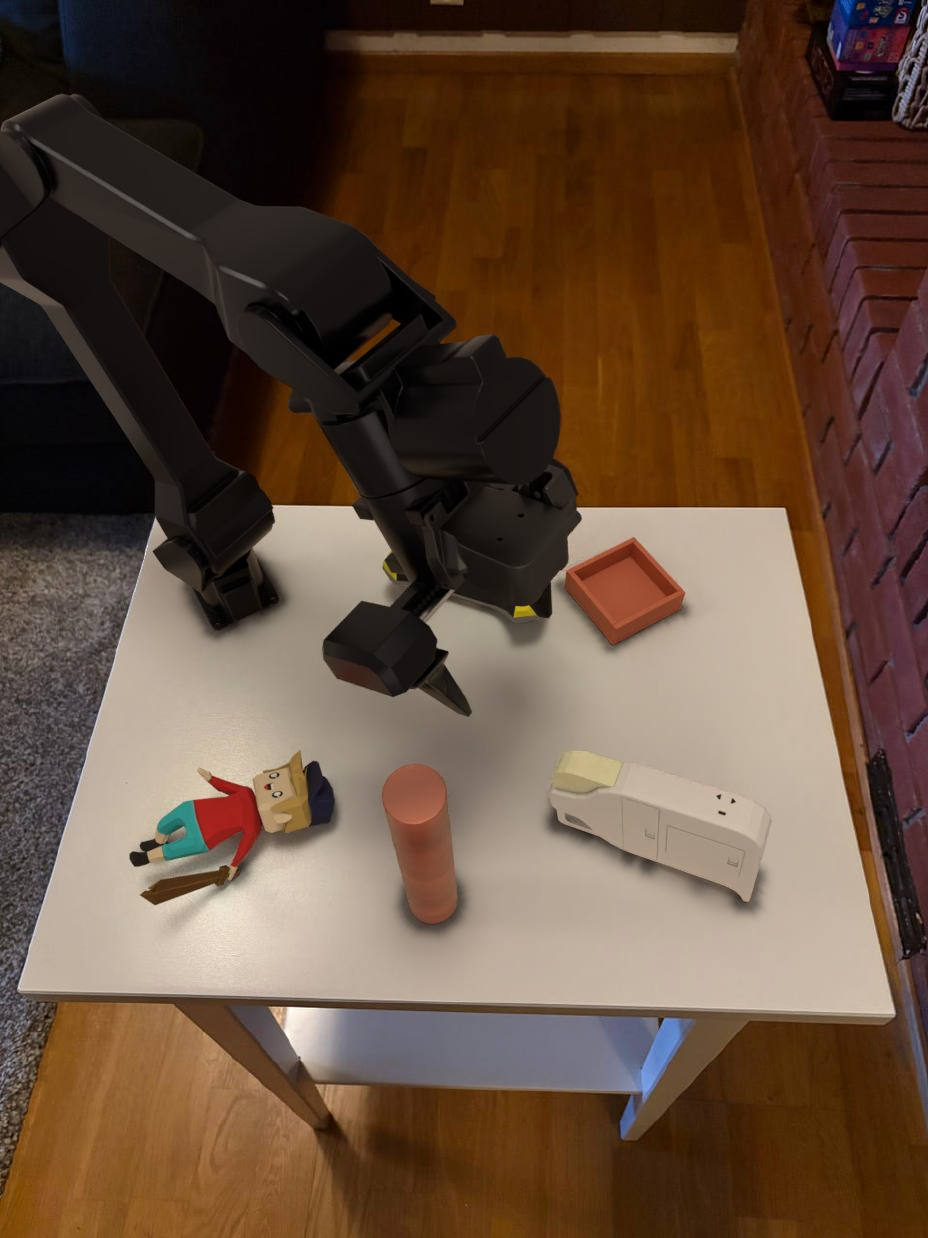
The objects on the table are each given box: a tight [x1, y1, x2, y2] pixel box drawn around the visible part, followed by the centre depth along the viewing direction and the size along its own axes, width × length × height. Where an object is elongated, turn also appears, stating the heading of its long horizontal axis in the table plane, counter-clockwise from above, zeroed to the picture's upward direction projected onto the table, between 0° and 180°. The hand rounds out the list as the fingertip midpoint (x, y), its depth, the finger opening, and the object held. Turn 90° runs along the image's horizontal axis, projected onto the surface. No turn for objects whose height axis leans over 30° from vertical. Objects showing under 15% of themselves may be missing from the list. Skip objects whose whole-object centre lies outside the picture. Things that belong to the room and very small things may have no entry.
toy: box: [128, 749, 335, 906], centre depth 64 cm, size 9×6×15 cm
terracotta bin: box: [564, 536, 686, 646], centre depth 78 cm, size 8×8×2 cm
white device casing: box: [548, 750, 772, 903], centre depth 62 cm, size 11×3×15 cm
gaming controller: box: [382, 550, 543, 624], centre depth 78 cm, size 15×6×10 cm
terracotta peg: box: [381, 763, 459, 925], centre depth 56 cm, size 4×4×19 cm
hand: (506, 663), depth 57 cm, fingers open, 9 cm apart
